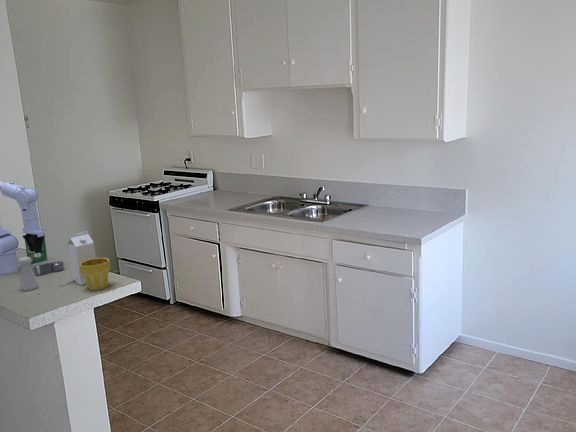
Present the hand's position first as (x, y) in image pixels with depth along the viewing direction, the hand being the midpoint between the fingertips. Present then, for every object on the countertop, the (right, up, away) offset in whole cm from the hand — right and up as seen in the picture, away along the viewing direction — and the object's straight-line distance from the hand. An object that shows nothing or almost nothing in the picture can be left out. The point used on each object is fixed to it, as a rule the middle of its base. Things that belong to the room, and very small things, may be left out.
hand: (36, 252), depth 216 cm
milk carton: (+24, -11, -11) cm, 29 cm away
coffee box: (-8, -6, +20) cm, 22 cm away
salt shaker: (+7, -13, -20) cm, 25 cm away
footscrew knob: (+6, -8, -1) cm, 10 cm away
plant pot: (+32, -12, -19) cm, 39 cm away
